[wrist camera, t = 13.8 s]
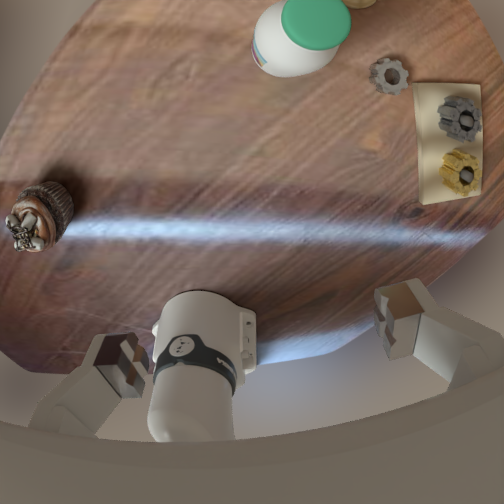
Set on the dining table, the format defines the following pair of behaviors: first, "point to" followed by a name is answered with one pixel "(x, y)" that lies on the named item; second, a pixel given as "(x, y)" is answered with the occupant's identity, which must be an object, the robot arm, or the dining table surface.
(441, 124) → the steel gear
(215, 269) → the dining table surface
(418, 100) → the gear board
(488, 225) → the dining table surface
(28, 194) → the cupcake
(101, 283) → the dining table surface
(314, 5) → the milk bottle
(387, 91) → the zinc gear
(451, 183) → the brass gear
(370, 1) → the hand bell
